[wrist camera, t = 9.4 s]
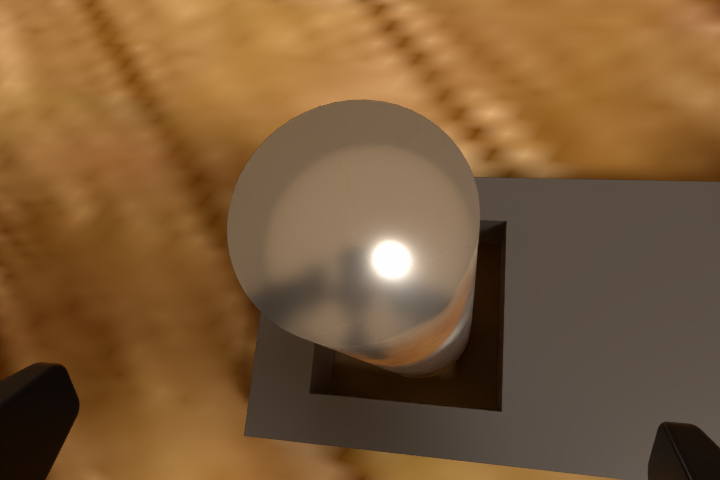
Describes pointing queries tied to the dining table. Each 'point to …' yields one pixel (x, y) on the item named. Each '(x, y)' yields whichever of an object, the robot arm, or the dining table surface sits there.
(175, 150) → the dining table surface
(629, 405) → the twin nest fixture
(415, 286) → the cylinder
